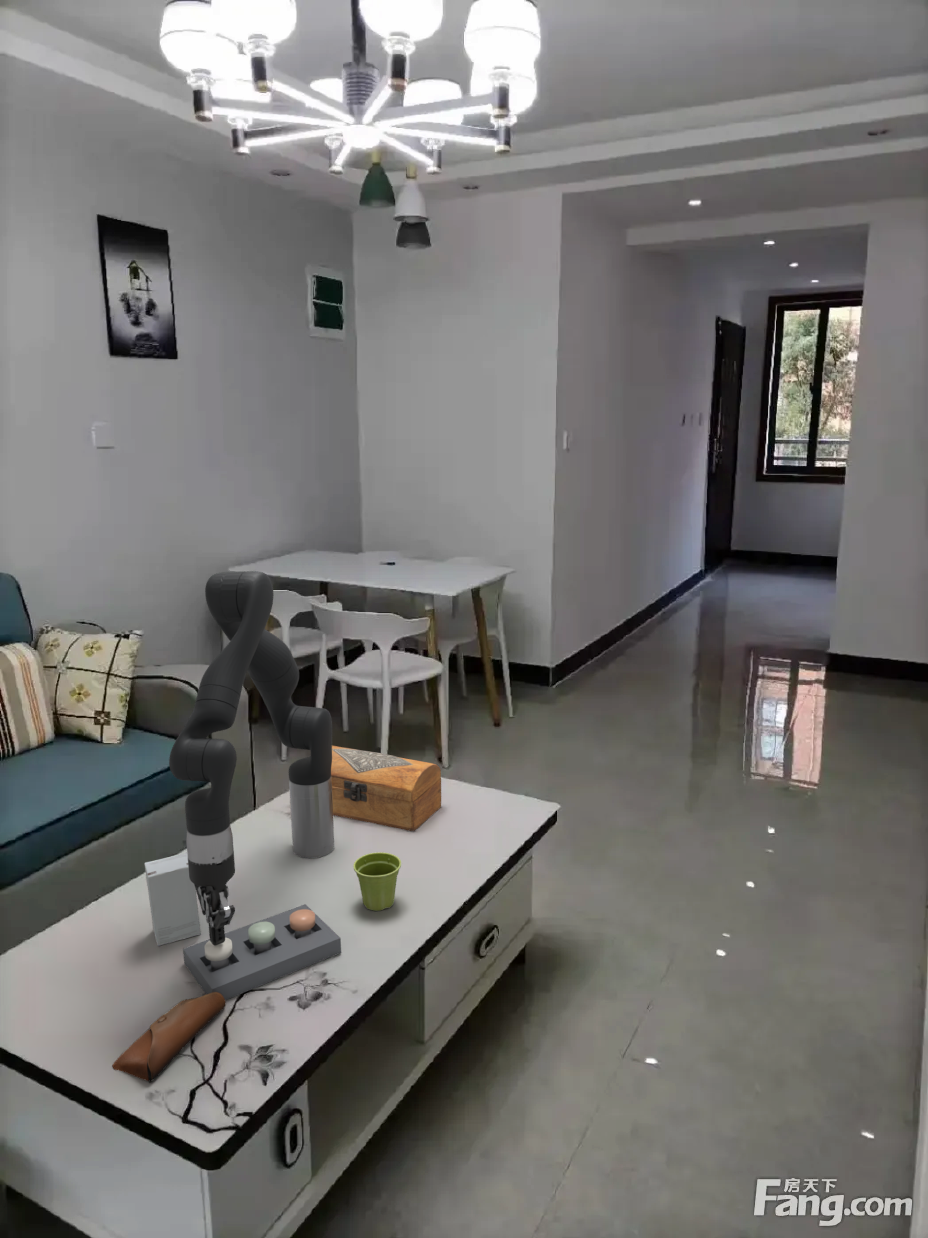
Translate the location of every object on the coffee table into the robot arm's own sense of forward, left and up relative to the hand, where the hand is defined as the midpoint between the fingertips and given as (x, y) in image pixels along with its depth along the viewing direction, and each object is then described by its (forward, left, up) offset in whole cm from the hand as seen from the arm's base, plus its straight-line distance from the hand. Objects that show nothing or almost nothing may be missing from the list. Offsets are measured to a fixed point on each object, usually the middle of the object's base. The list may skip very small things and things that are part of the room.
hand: (217, 942), depth 153 cm
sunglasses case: (+10, -12, -7) cm, 18 cm away
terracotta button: (0, +16, -6) cm, 17 cm away
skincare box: (-17, -2, -7) cm, 18 cm away
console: (0, +8, -7) cm, 10 cm away
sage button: (0, +8, -5) cm, 10 cm away
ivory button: (0, 0, -5) cm, 5 cm away
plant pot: (-3, +34, -7) cm, 35 cm away
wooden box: (-40, +55, -7) cm, 69 cm away
